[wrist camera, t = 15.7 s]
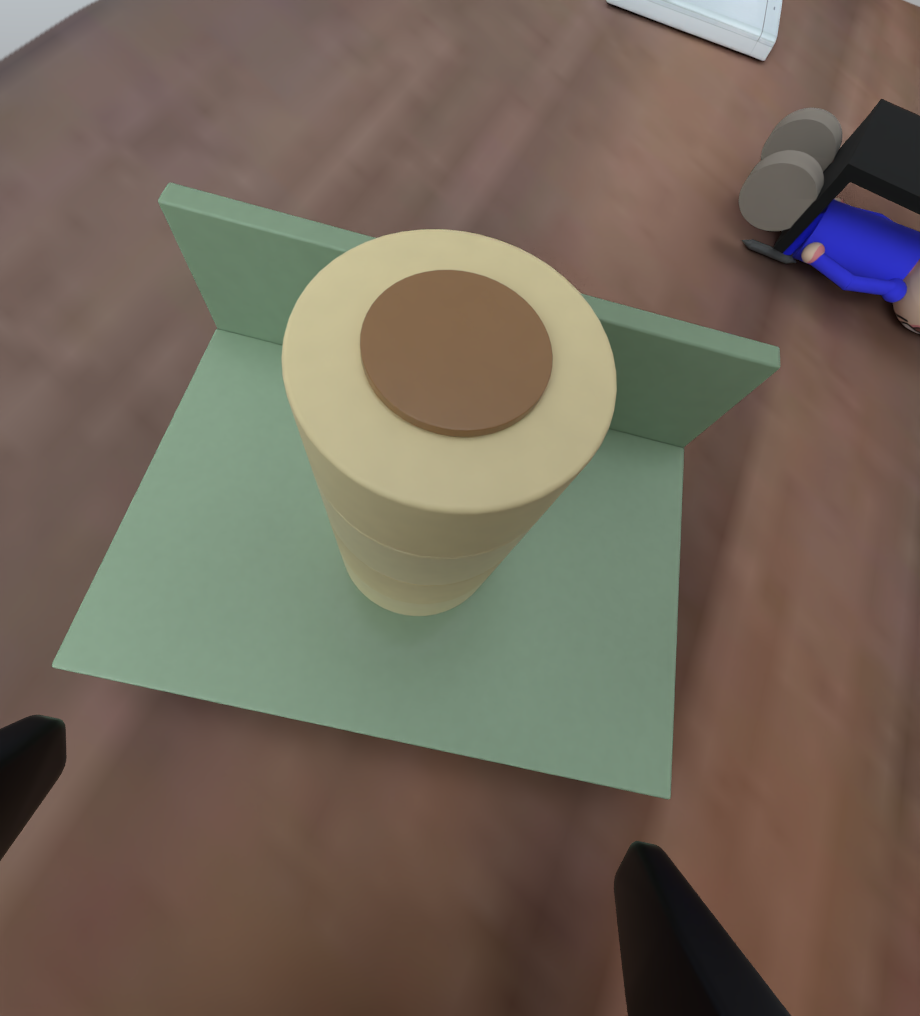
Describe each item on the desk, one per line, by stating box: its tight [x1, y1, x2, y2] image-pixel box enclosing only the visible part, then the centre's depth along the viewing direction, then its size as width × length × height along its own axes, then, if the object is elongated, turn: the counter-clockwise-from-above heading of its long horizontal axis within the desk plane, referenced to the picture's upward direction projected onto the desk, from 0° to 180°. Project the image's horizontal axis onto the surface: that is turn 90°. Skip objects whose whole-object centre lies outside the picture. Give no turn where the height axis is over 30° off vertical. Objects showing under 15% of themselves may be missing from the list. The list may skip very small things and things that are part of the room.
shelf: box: [52, 183, 780, 799], centre depth 16 cm, size 13×18×9 cm
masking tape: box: [281, 229, 617, 616], centre depth 12 cm, size 5×5×10 cm
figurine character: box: [739, 99, 920, 334], centre depth 26 cm, size 7×8×15 cm
